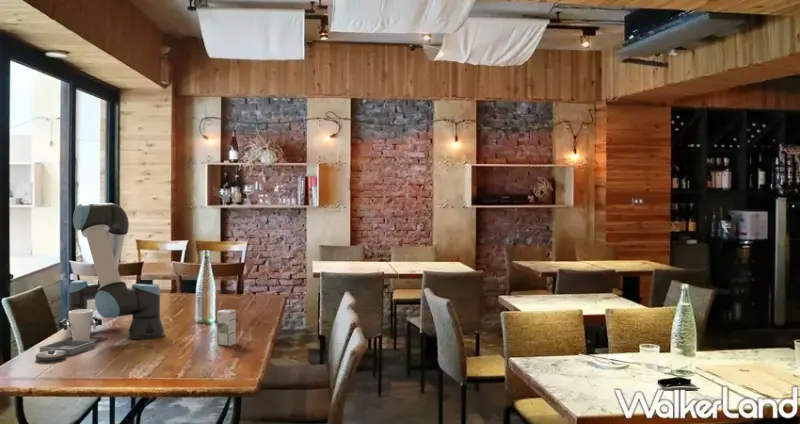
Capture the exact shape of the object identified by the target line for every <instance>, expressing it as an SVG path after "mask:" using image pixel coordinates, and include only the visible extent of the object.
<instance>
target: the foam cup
mask: <svg viewBox="0 0 800 424" xmlns="http://www.w3.org/2000/svg"><path fill="white" fill-rule="evenodd" d="M92 317H94V310H93V309H88V308H87V309H81V310H73V311H70V310H69V311H68V320H69V319H70V330H71V337H72V338H73V339H72V340H79V341H90V339H91V338H90V336H91V330H92V325H91V324H92Z"/></svg>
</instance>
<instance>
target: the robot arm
mask: <svg viewBox="0 0 800 424" xmlns="http://www.w3.org/2000/svg"><path fill="white" fill-rule="evenodd" d="M129 224H130V222H129V217H128V215H127V213H126V211H125V210H124V208H122V207H121V205H118V204H116V203H114V202H113V203H112V202H107V203H106V202H102V203H100V202H98V203H97V202H96V203H94V202H93V203H89V202H86V203H79V204H78V205H77V206H76V207H75V209H74V211H73V215H72V226H73V228H74V229H75V230H76V231H80V232H81V235H82V237H83V238H84V237H85V238H86V239H87V244H88V246H89V247H88V248H89V250H90V255H91V257H92V262H93V265H94V269H95V272H96V276H97V282H95V283H94V282H93V283H88V282H87V281H88V280H84V279H83V280H82V279H79V280H78V279H77V280H72V281H70V283H69V287H68V288H69V289H68V294H69V295H68V296H69V297H68V298H69V304H68V305H69V306H68V307H69V309H68V310H69V311H73V310H81V309H88V301H92V300H94V305H95V309H96V311H97V313H98V314H99V315H100V316H101V317H103V318H105V319H111V318H112V319H115V318H119V317H120V318H121V317H127V316H132V317H131V318H132V320H131V323H130V325H129V329H128V332H127V337H128V339H130V340H131V339H132V340H152V339H153V340H154V339H157V338H162V337H164V336H165V328H164V325H163V323H162V320H161V291H160V287H159V286H158V285H156V284H148V283H133V284H131V287H127V283H126V282H125V281H123V280H121V276H120V273H119V270H118V269H119V265H120V260H121V256H122V250H123V245H124V240H125V236H126V235H127V234H128V233H129ZM102 323H103V320H102V318H99V317H97V316H96V315H93V316H92V324H91V326H92V328H93V330H96V327H99V326H102V325H103V324H102ZM62 328H63V330H64V331H67V332H70V328H71V326H70V319H69V318H62V320H60V321H59V322H58V329H62Z"/></svg>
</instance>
